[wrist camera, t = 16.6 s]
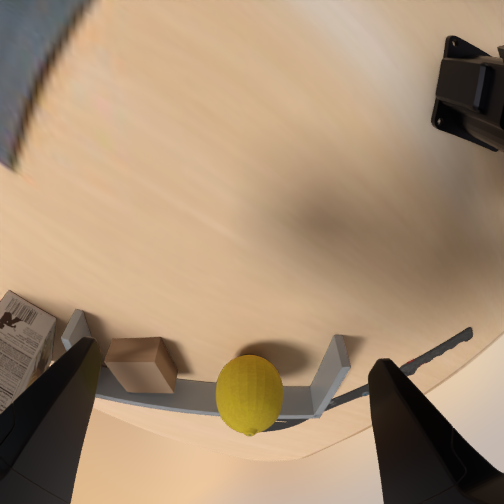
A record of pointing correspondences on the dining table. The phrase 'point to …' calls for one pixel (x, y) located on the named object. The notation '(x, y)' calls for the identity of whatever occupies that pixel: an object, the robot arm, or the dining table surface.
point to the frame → (204, 393)
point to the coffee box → (22, 346)
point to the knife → (364, 390)
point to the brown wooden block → (142, 365)
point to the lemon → (249, 394)
